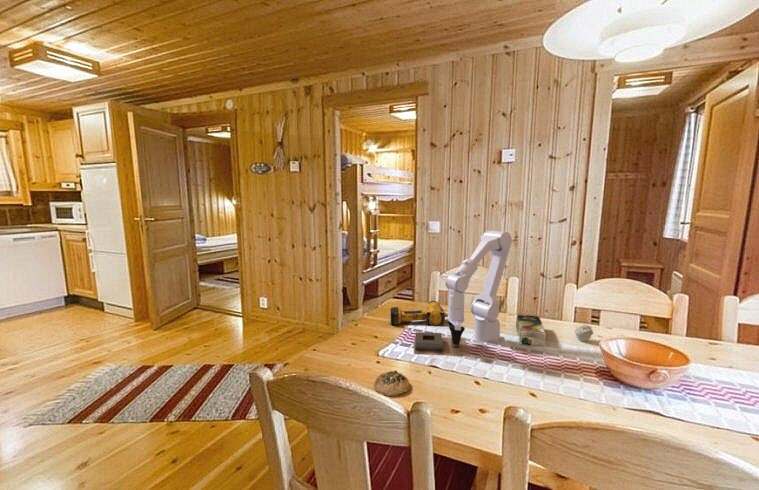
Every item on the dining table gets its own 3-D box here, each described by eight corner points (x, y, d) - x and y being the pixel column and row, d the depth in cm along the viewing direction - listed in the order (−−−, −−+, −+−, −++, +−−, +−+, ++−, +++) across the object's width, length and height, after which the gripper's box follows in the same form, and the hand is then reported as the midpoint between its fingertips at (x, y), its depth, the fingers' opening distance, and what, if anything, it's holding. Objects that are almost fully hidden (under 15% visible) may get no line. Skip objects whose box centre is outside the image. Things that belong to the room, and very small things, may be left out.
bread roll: (388, 373, 115) (389, 360, 114) (416, 389, 109) (418, 375, 107) (365, 389, 107) (366, 375, 106) (394, 407, 100) (396, 392, 99)
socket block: (441, 340, 139) (441, 333, 139) (442, 351, 129) (442, 343, 129) (415, 339, 140) (415, 332, 140) (415, 350, 130) (415, 342, 130)
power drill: (390, 310, 181) (439, 309, 180) (390, 327, 157) (447, 327, 157) (390, 296, 180) (439, 296, 179) (390, 311, 156) (447, 311, 156)
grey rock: (580, 344, 136) (582, 327, 135) (570, 337, 143) (571, 321, 142) (596, 344, 137) (597, 327, 136) (585, 337, 144) (586, 320, 143)
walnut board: (464, 340, 141) (464, 338, 141) (470, 358, 125) (470, 356, 125) (414, 338, 143) (414, 336, 143) (413, 356, 128) (413, 353, 127)
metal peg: (459, 344, 135) (459, 326, 134) (460, 348, 132) (460, 329, 131) (450, 344, 135) (450, 326, 134) (451, 347, 132) (451, 329, 131)
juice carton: (547, 347, 135) (548, 332, 134) (519, 345, 137) (520, 330, 136) (539, 329, 154) (540, 315, 153) (515, 327, 156) (515, 314, 156)
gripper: (443, 300, 139) (443, 333, 141) (446, 312, 125) (446, 349, 127) (462, 301, 138) (461, 334, 140) (467, 313, 124) (466, 350, 126)
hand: (455, 341), depth 133 cm, fingers open, 4 cm apart
